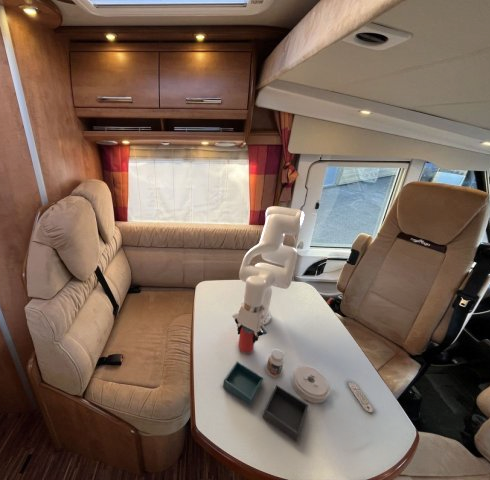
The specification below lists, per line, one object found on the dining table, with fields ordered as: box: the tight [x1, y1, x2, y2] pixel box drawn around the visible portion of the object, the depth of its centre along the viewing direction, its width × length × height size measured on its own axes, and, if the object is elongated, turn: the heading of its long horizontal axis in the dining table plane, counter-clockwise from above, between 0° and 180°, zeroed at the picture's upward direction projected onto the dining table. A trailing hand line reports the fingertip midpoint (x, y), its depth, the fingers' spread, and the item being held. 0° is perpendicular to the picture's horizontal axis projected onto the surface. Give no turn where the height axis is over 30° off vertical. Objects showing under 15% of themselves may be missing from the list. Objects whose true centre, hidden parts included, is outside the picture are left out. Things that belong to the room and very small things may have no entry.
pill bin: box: [222, 361, 264, 407], centre depth 89 cm, size 10×11×4 cm
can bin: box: [262, 384, 309, 443], centre depth 80 cm, size 11×11×4 cm
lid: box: [290, 365, 331, 404], centre depth 88 cm, size 13×13×5 cm
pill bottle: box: [266, 348, 285, 378], centre depth 93 cm, size 6×6×10 cm
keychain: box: [348, 382, 374, 413], centre depth 86 cm, size 10×1×3 cm
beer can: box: [237, 326, 255, 354], centre depth 103 cm, size 7×7×12 cm
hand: (247, 336), depth 102 cm, fingers closed on beer can, 6 cm apart
